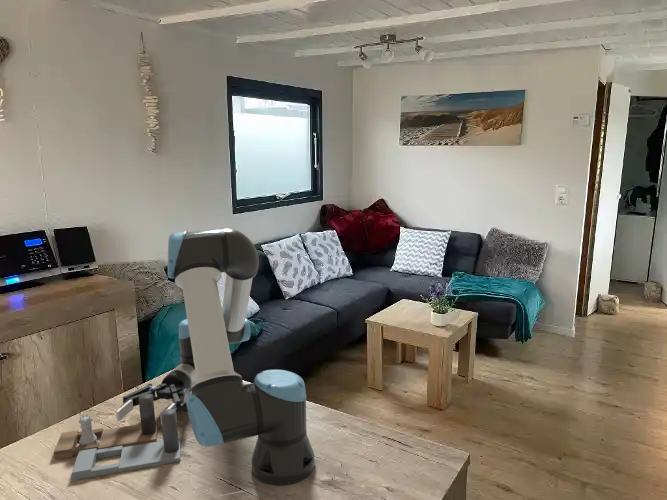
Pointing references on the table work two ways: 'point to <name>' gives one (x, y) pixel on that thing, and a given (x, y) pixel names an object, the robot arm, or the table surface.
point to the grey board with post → (133, 453)
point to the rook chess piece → (87, 431)
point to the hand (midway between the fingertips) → (139, 418)
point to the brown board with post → (114, 433)
